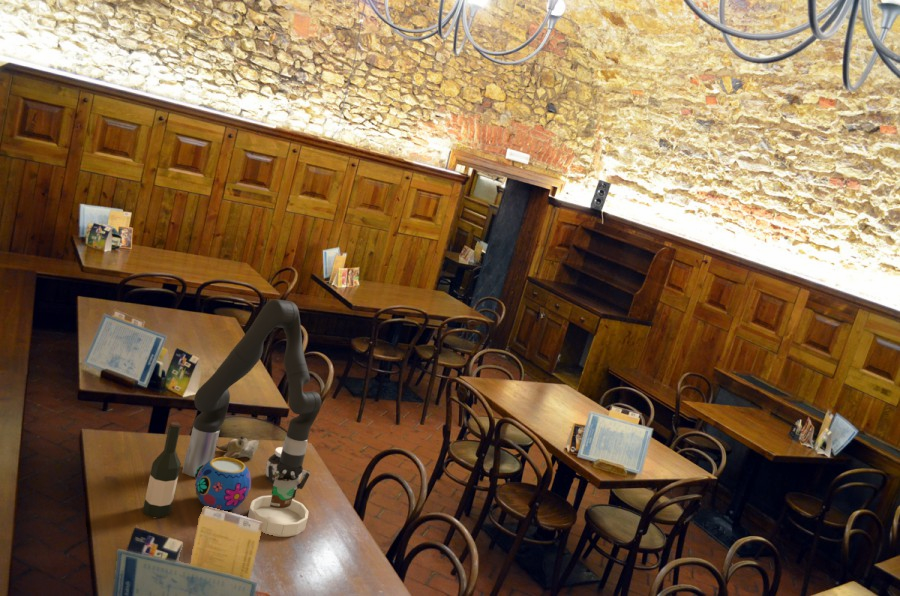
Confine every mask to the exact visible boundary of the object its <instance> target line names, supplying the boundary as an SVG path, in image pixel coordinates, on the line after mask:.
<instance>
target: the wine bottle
mask: <svg viewBox="0 0 900 596" xmlns="http://www.w3.org/2000/svg"><path fill="white" fill-rule="evenodd" d="M180 432H181V425H180V422H178V421H172V422H170V424H169V425H168V429H167V434H166V437H165V438H166V439H165V443H164V447H163V448H164V449H163V451H161V453H160V454H159V455H158V456H157V457H156V458H155V459H154V460H153V461H152V466H151V470H150V474H149V479H148V483H147V484H148V485H147V488H146V489H147V490H146V494H145V498H144V503H143V504H144V505H143V507H142V513H144V514H145V516H147V517H148V516H149V518H153V517H156V518H155V519H161V518H160V517H163V518H167V517H168V516H169V515H170V514H171V513H172V511H171V510H172V508H173V502H174V497H175V493H176V488H177V484H178V479H179V475H180V471H181V465H182V463H181V461H180V459H179V456H178V453H177V451H176V449H177V445H178V441H179V435H180ZM166 516H167V517H166Z"/></svg>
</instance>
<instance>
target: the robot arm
mask: <svg viewBox="0 0 900 596" xmlns="http://www.w3.org/2000/svg"><path fill="white" fill-rule="evenodd" d="M275 328H282V329H283V331H284V334H285V338H286V348H285V351H284V356H283V357H284V359H283V365H284V368H285V369H284V370H285V373H286V377H287V381H288V398H287V399H288V400H287V401H288V406H289V410H291V412H292V413H293V414H294V415H297V416H295V417H293V418H291V419H290V421H289V424H288V427H287V431H286V435H285V439H284V441H283V445H282V447H283V449H282V453H281V457H280V461H279V463H278V464H272V463H270V464H269V467H268V475H269V479H268V483H269V484H272V489H271V494H272V493H273V487H274V486H273V484H274V481H275V479H274V478H273V471H275V469H276V468H277V469H278V471H279V475H278V476H277V478H276V480H278V479H282V478H287V479H290V480H292V481H293V480H296V479H297V476H298V475H300V474H301V473H302V477H301V481H300V482H299V484H298V485H297V486H295V488H294V492H293V493H294V494H293V496H292V498H293V499H295V497H296V494H297V491H298V489H299V490H302V489H303V488H304V487H305V485H306V483H307V481H308V479H309V477H310V475H311V471H310V470H305V469H304V468H303V463H304V460H305V455H306V453H307V452H306V451H307V447H308V441H309V440H308V439H309V436H310V431H311V427H312V425H314V423H315V421H316V419H317V417H318V415H319V413H320V411H321V408H322V399H321V398H322V397H321V395H320V394H319V393H318V392H316V391H313V390H311V391H303V387H304V386H306V385H308V384H310V381H311V375H310V371H309V369H308V365H307V362H306V357H305V351H304V347H303V346H304V345H303V337H302V327H301V318H300V311H299V308H298V305H296V303H295V302H293V301H290V300H284V299H277V298H276V299H270V300H269V301H267V302H266V303H265V304H264V306H263V307H262V308H261V310H260V312H259V313H258V314H257V317H255V319H254V321H253V323H252V324H251V325H250V327H249V328H248V330H247V331H246V332H245V334H244V335H243V336H242V338H241V339H240V340H239V341H238V342H237V344H236V345H235V346H234V348H232V350H231V351H230V352H229V354H228V355H227V357H226V358H225V359H224V360H223V362H222V363H221V364H220V366H219V367H218V368H217V370H216V371H215V372H214V373H213V374H212V376H210V378H209V379H207V380H206V382H204V383H203V384H202V385H201V386H200V387H199V389H197V391H196V393H195V395H194V398H193V400H194V406H195V408H196V409H197V410H198V411H199V412H200V414H198V415H197V416H196V417H195V418H194V422H193V425H192V429H191V435H190V438H189V439H190V440H189V443H188V446H187V449H186V452H185V458H184V461H183V466H182V471H181V473H182V474H185V475H187V476H189V477H192V478H195V472H196V470H197V468H198V467H199V466H201V465H205V464H206V463H207V462H209V461H211V460H212V459H215V454H216V449H217V447H216V446H218V445H217V444H218V440H219V434H220V431H221V426H222V425H223V424H224V422H225V419H226V416H227V412H228V409H229V404H230V400H231V399H230V398H231V395H230V394H231V393H230V390H229V388H230V387H231V386H233V385H234V384H235V383H237V382H238V381H240V380H241V379H242V378H244V377H245V376H246V375H248V374H249V373H250V372H251V371H252V370H253V368H254V367H255V366H256V365H257V363H258V362H259V361H260V359H261V357H262V355H263V351H264V342H265V340H266V339H267V337H268V336H269V335H270V333H271V332H272V331H273V330H274V329H275Z"/></svg>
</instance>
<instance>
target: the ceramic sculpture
mask: <svg viewBox="0 0 900 596" xmlns="http://www.w3.org/2000/svg"><path fill="white" fill-rule="evenodd" d="M259 442H260V440H259V439H255V440H253V439H252V440H248V439H247V437H244V436H240V437H239V438H233V439H231V440H229V441H228V443H225V444H224V445H216V449H218V450H220V451H223V452H225V454H223V455H222V456H221V457H228V458H233V459H239V458H245V457H246V458H248V459H252V458H254V455H255V453H256V451H257V450H258V446H259Z"/></svg>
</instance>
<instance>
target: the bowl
mask: <svg viewBox="0 0 900 596" xmlns="http://www.w3.org/2000/svg"><path fill="white" fill-rule="evenodd" d="M271 499H272V494H271V495H261V496H258V497H256V498H255V499H253V500H251V503H250V507H249V511H248V515H247V518H248V517H251V518H254V519H257V520H261V521H262V522H263V526H262V532H263V533H262V532H261V533H262V534H264V533H265V534H264V535H267V534H269V535H268V536H271V535H273V537H277V538H278V537H280V538H287V537H294V536H297V535H299V534H301V533H302V532H304V530H305V529H306V526H307V524H308V523H307V521H308V517H309V513H310V512H309V510H308V509H307V508H306V506H305V505H304V504H303V503H302V502H300V501H298V500H295V498H293V499H292V502H291V505H290V506H289V507H286V508H273V507H270V504H271Z"/></svg>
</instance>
